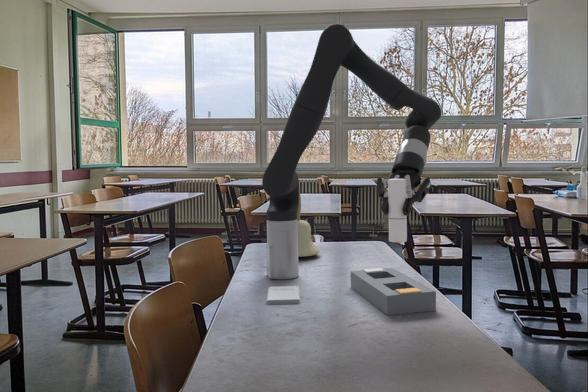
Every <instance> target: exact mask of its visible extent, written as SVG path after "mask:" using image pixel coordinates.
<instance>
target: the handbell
mask: <svg viewBox="0 0 588 392" xmlns="http://www.w3.org/2000/svg"><path fill="white" fill-rule="evenodd" d="M301 208H302V199H301V188H300V187H299V208H298V212H297V227H298V258H299V257H301V258H302V257H311V256H315V255H318V254H319V253H320V252H321V250H320V248H319V247H318V246H317V245H316V244H315V243H314V242H313V239H312V228H311V225H310V223H309V222H308V221H307V220H303V219H301V212H302V211H301V210H302V209H301Z"/></svg>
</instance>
